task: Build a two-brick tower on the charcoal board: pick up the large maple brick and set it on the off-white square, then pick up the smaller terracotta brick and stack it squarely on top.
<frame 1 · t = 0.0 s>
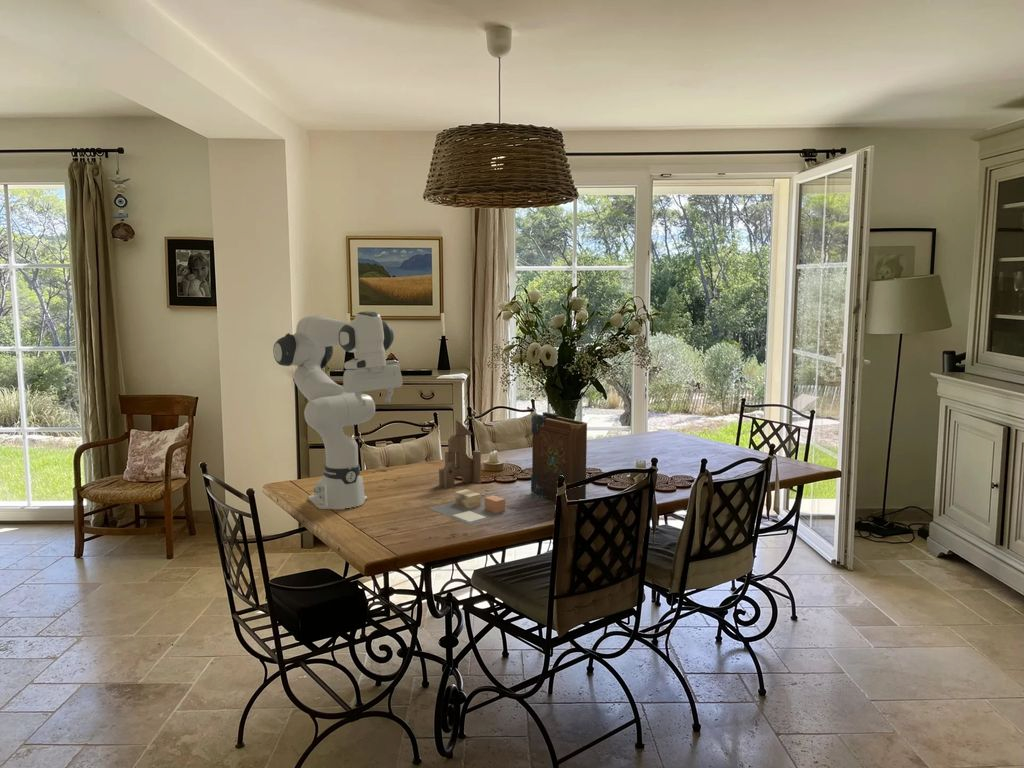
hand: (375, 404, 242), 39 cm above the table, tool pointing down, fingers open, 8 cm apart
brick top: (494, 509, 254), point 1 cm above the table, touching build board
brick base: (467, 504, 260), point 1 cm above the table, touching build board
decorative book: (559, 499, 272), on the table
wooden toy: (460, 484, 291), on the table
build board: (471, 514, 254), on the table
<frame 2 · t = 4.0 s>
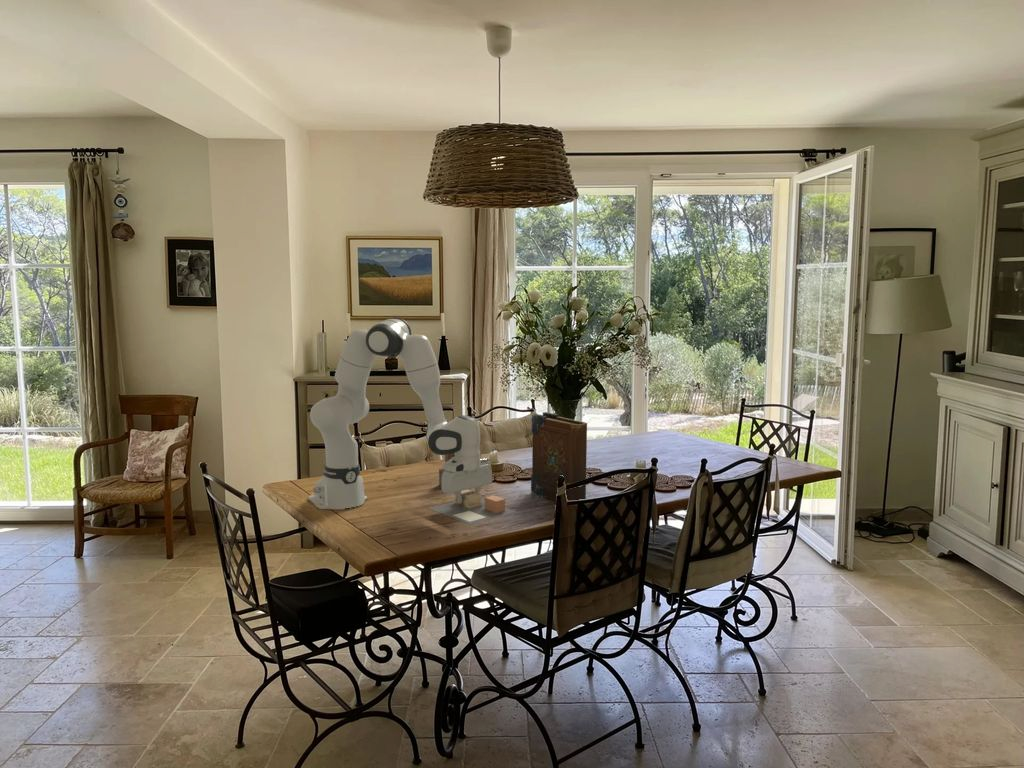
hand: (467, 501, 260), 3 cm above the table, tool pointing down, fingers closed on brick base, 5 cm apart
brick base: (467, 504, 260), point 1 cm above the table, touching build board, gripper
everything else where it was.
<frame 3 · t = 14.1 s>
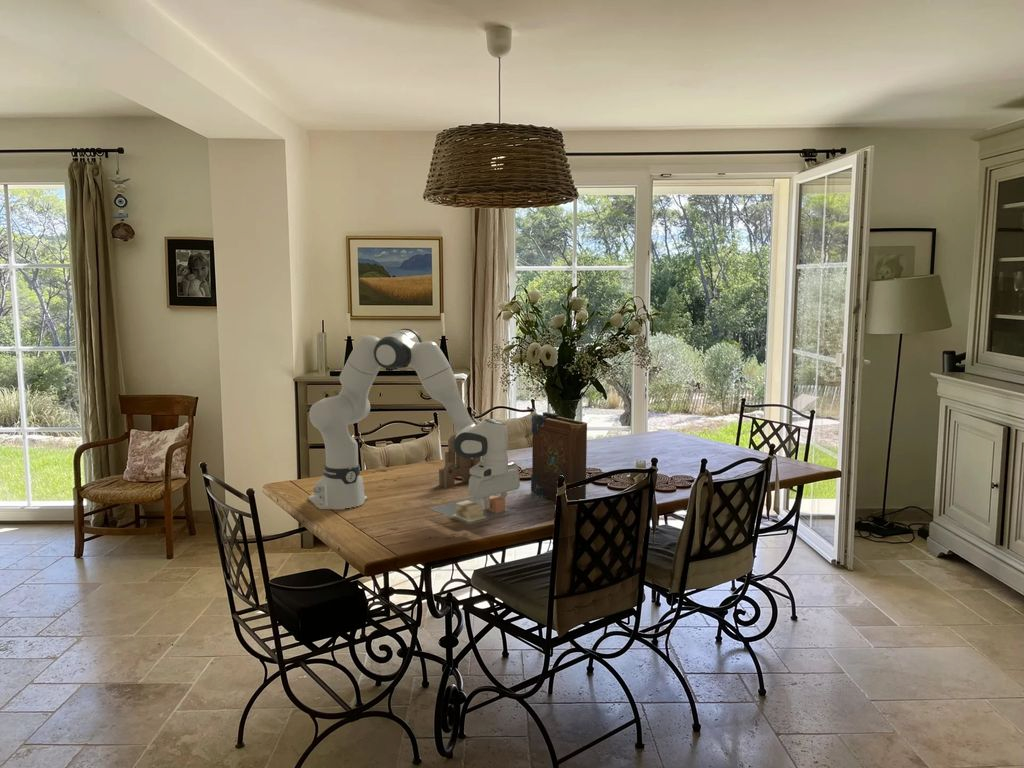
hand: (494, 506, 254), 3 cm above the table, tool pointing down, fingers closed on brick top, 4 cm apart
brick top: (494, 509, 254), point 1 cm above the table, touching build board, gripper
brick base: (469, 516, 247), point 2 cm above the table, touching build board
everything else where it was.
when the fingers open (8 cm above the table, at t = 19.3 s): brick top stays where it is, resting on brick base.
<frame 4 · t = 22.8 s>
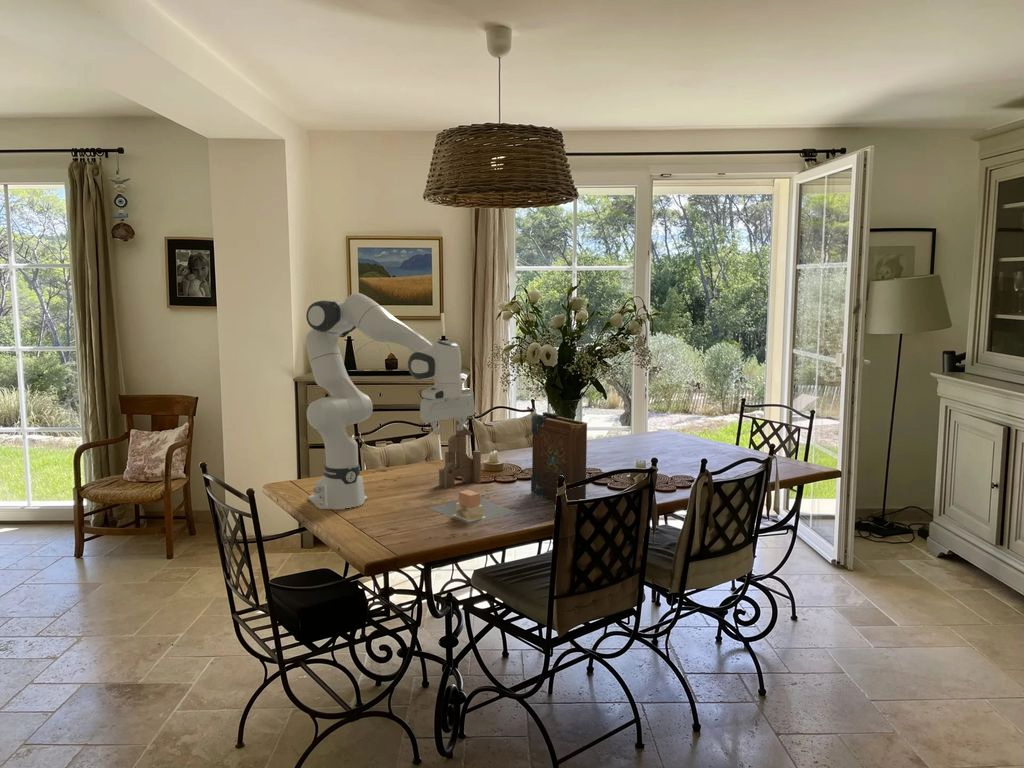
hand: (448, 432, 246), 29 cm above the table, tool pointing down, fingers open, 8 cm apart
brick top: (469, 504, 246), point 6 cm above the table, touching brick base
brick base: (469, 516, 247), point 2 cm above the table, touching brick top, build board
everything else where it was.
at the end: brick base 0.0 cm from the target spot on the build board, point 1.6 cm above the build board's base; brick top 0.0 cm off-centre on the brick base, point 4.0 cm above the brick base's base; brick top tilted 0° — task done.
